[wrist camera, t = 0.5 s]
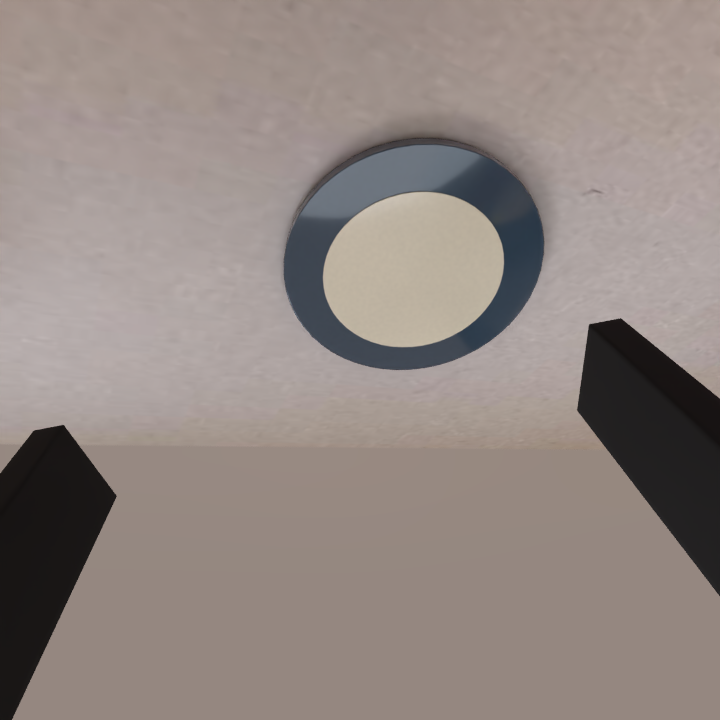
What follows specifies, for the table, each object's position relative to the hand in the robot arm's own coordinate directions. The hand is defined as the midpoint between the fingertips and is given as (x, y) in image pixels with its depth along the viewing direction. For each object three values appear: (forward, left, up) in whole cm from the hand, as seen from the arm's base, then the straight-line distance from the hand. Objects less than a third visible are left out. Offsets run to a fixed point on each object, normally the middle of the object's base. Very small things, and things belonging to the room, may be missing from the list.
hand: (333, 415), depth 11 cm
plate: (+1, +12, -23) cm, 26 cm away
